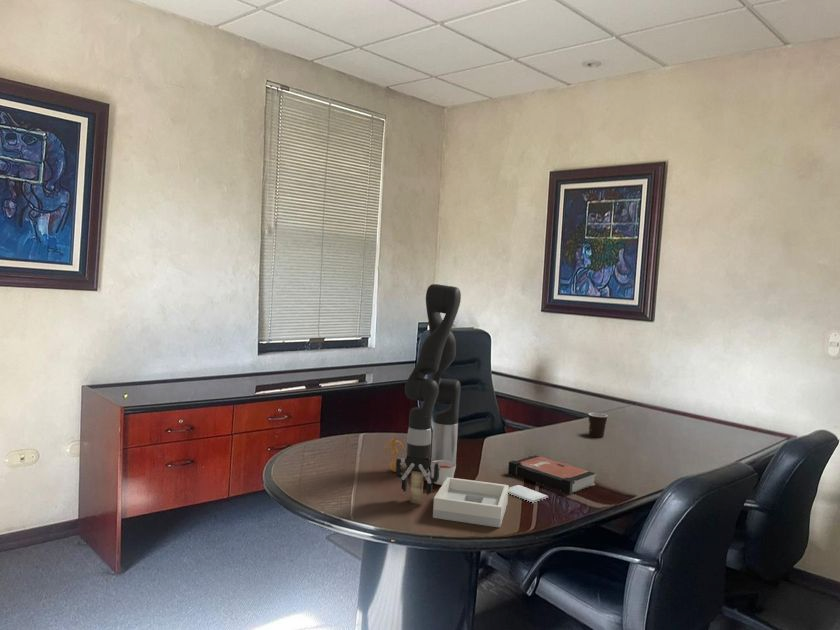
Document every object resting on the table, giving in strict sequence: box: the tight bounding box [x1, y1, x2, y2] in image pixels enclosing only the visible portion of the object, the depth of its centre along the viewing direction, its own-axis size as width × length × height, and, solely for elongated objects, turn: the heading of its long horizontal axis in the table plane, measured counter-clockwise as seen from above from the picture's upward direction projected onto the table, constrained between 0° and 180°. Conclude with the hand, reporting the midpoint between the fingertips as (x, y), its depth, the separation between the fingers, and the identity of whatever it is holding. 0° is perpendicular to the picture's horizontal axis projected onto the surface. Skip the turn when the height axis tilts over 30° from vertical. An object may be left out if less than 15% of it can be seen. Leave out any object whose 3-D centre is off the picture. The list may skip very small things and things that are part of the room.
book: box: [507, 455, 597, 495], centre depth 227 cm, size 26×18×5 cm
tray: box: [432, 477, 509, 528], centre depth 193 cm, size 20×20×6 cm
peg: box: [409, 471, 425, 505], centre depth 198 cm, size 4×4×10 cm
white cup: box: [429, 460, 457, 486], centre depth 218 cm, size 9×9×6 cm
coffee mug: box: [587, 412, 608, 439], centre depth 294 cm, size 12×9×10 cm
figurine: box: [383, 437, 406, 473], centre depth 227 cm, size 8×6×12 cm
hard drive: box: [508, 484, 549, 504], centre depth 209 cm, size 2×8×12 cm
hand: (416, 492), depth 198 cm, fingers open, 7 cm apart
